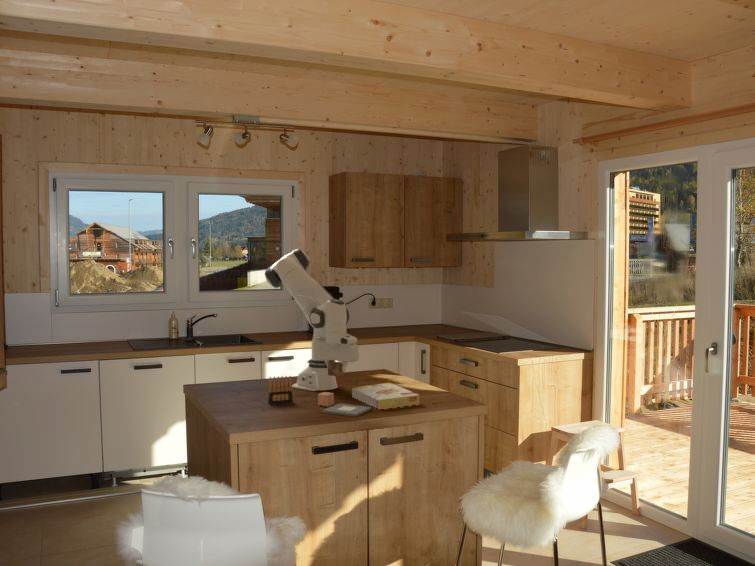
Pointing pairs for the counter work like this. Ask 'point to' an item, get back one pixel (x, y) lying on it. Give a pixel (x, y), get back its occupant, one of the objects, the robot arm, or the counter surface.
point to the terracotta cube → (326, 399)
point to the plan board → (346, 410)
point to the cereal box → (385, 396)
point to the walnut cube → (335, 369)
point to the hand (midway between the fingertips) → (336, 370)
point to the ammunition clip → (280, 390)
